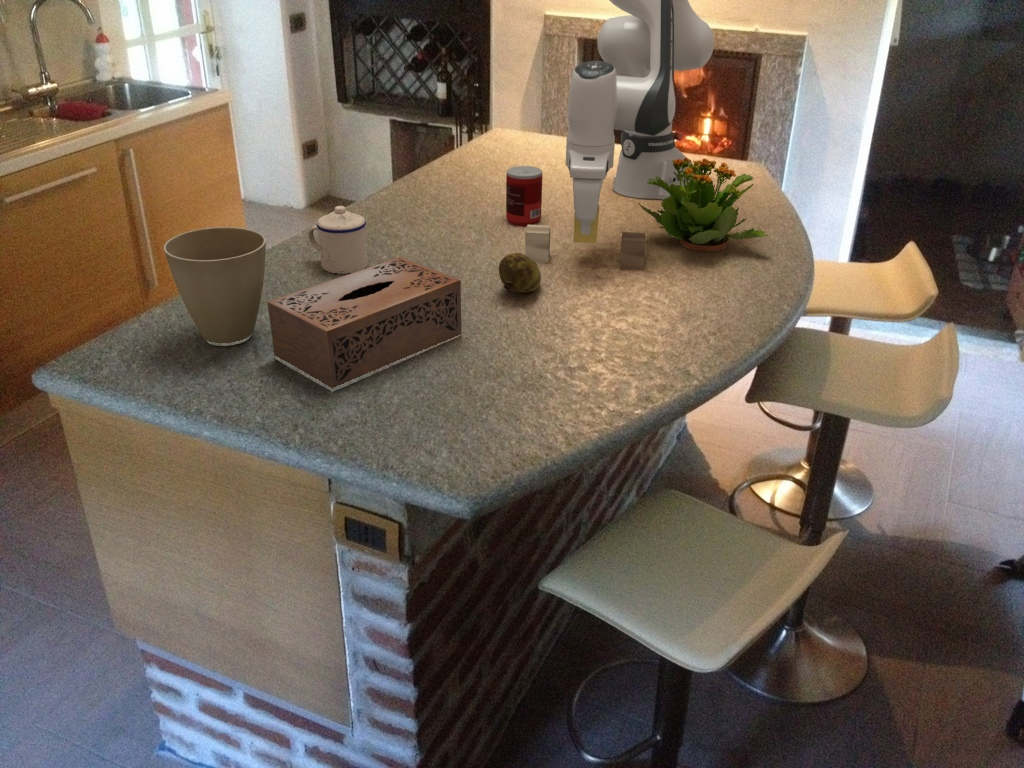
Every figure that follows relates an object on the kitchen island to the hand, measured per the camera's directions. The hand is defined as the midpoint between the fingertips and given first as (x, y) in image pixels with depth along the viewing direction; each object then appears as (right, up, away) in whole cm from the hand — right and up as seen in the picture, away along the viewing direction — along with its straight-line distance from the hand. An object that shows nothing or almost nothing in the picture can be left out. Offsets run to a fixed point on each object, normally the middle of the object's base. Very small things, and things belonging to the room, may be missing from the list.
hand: (586, 227), depth 171 cm
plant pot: (-60, -23, -27) cm, 69 cm away
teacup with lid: (-47, -7, 0) cm, 48 cm away
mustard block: (0, -2, +1) cm, 2 cm away
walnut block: (+9, -7, +2) cm, 11 cm away
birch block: (-9, -5, +4) cm, 12 cm away
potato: (-13, -13, -10) cm, 21 cm away
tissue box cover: (-36, -25, -30) cm, 53 cm away
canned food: (-12, +6, +24) cm, 27 cm away
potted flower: (+25, -2, +12) cm, 28 cm away
